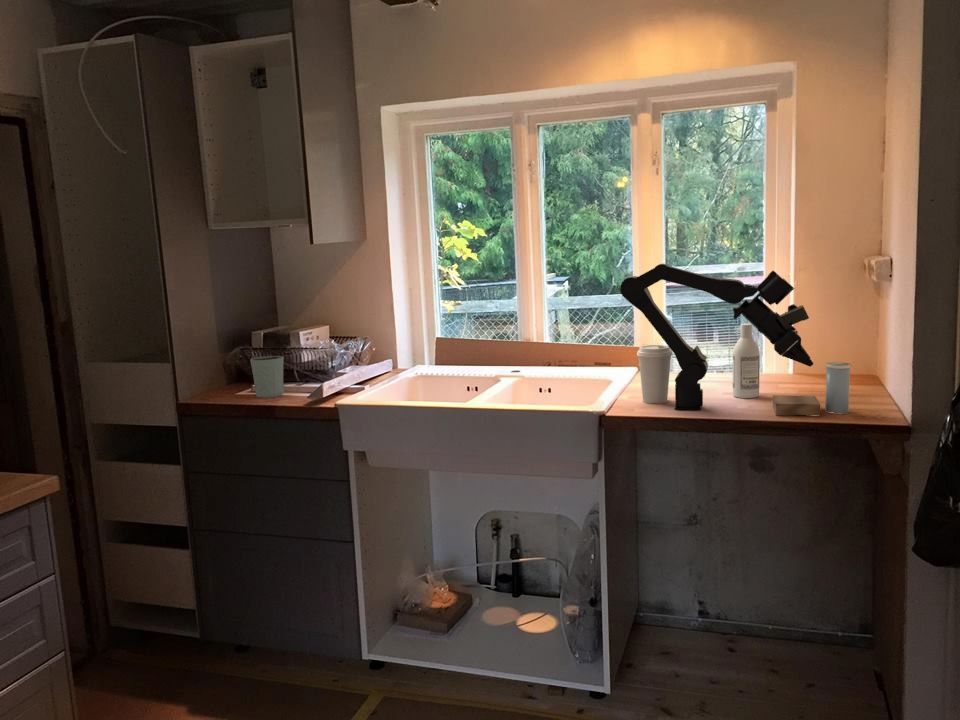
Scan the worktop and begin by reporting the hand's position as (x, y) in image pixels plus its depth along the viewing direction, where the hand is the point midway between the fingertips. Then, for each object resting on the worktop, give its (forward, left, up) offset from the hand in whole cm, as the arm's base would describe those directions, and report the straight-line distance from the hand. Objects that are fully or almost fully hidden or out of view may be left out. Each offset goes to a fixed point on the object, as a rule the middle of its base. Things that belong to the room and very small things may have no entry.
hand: (810, 362), depth 190 cm
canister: (+6, 0, -12) cm, 14 cm away
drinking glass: (-158, +9, -13) cm, 159 cm away
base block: (-3, -1, -12) cm, 13 cm away
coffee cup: (-38, +9, -13) cm, 41 cm away
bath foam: (-14, +17, -13) cm, 26 cm away
